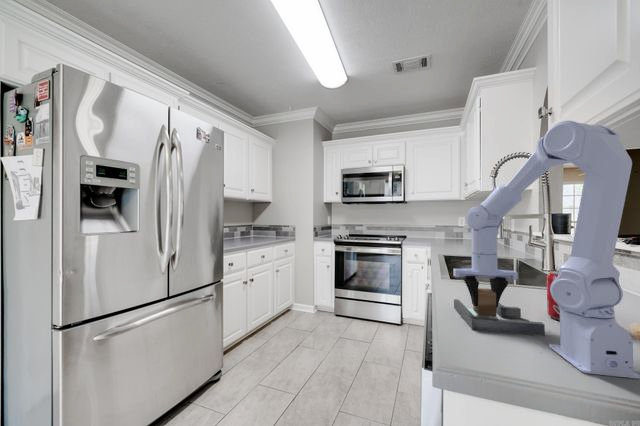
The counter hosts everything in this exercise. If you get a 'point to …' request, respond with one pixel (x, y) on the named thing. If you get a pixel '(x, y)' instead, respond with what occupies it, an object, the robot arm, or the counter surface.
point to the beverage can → (551, 304)
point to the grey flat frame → (500, 321)
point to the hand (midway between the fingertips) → (484, 305)
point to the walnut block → (486, 303)
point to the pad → (480, 316)
